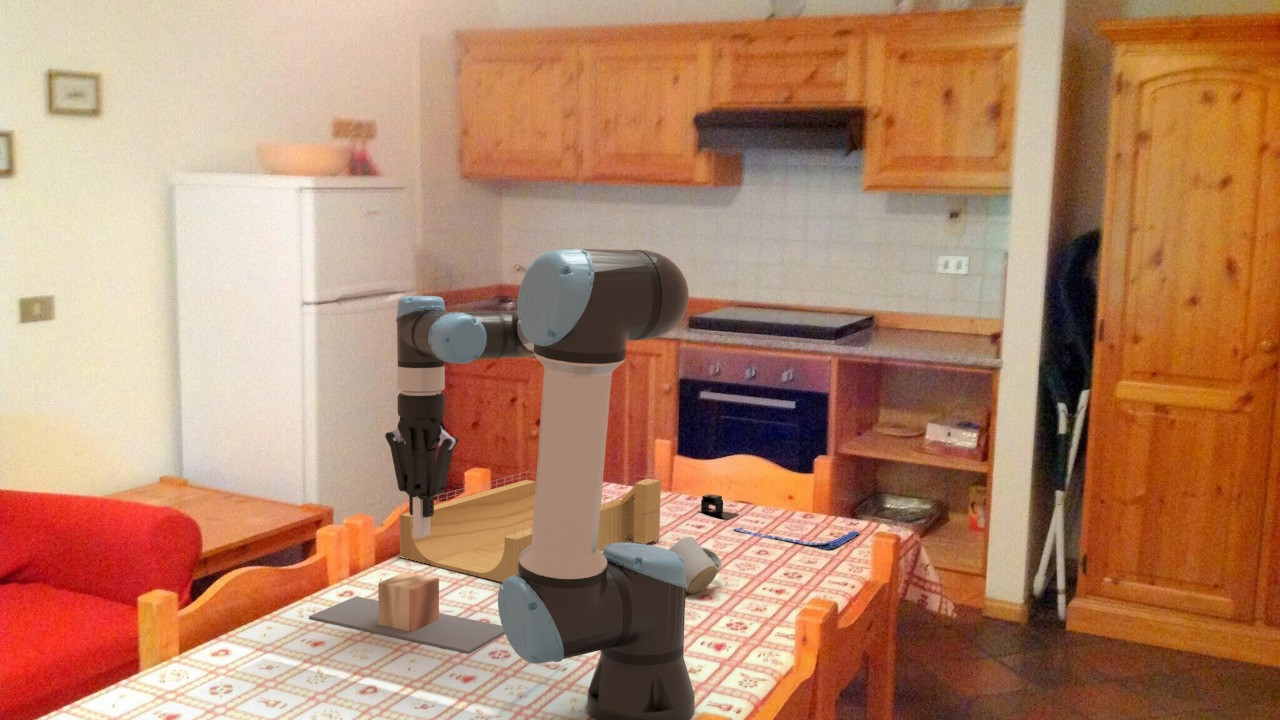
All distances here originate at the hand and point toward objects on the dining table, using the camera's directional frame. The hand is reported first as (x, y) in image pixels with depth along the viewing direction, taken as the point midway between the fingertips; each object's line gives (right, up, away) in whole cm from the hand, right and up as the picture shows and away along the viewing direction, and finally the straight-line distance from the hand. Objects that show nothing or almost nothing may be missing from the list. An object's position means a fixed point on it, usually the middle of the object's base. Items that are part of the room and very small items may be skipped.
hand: (421, 535), depth 186 cm
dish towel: (+70, -11, +63) cm, 95 cm away
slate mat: (-3, -15, +3) cm, 16 cm away
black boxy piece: (+52, -10, +77) cm, 94 cm away
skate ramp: (+14, -11, +46) cm, 50 cm away
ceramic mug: (+46, -14, +25) cm, 54 cm away
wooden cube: (-6, -11, +4) cm, 13 cm away
